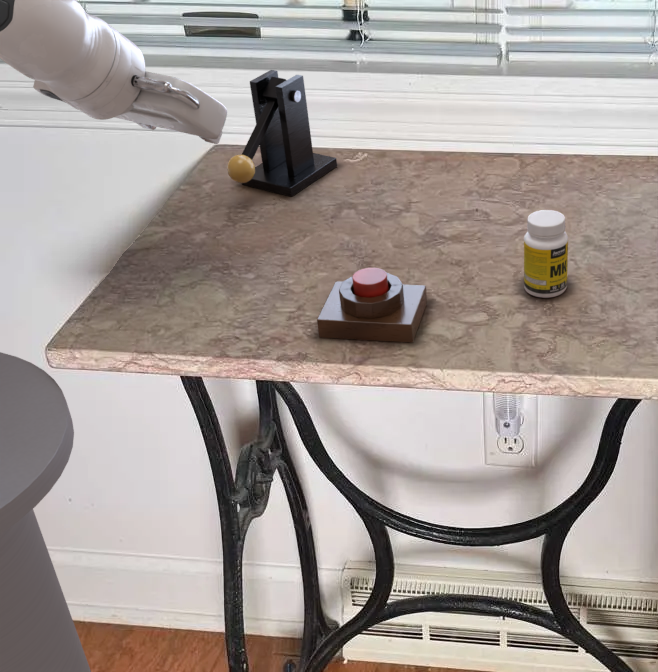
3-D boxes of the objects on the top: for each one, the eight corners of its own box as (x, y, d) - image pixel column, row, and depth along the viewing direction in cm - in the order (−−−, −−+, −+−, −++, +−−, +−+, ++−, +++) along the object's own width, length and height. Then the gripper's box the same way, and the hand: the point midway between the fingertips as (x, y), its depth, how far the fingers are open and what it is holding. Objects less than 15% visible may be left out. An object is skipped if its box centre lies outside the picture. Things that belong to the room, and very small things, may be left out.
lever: (253, 190, 146) (239, 175, 143) (231, 185, 148) (217, 170, 145) (300, 93, 149) (287, 76, 146) (278, 89, 150) (265, 72, 147)
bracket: (291, 196, 150) (277, 97, 141) (242, 184, 153) (225, 87, 145) (337, 166, 156) (326, 69, 148) (288, 155, 159) (275, 60, 151)
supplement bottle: (554, 303, 127) (554, 232, 122) (516, 292, 129) (515, 222, 124) (575, 283, 130) (576, 213, 125) (537, 273, 132) (537, 203, 127)
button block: (319, 337, 124) (314, 304, 121) (337, 298, 130) (333, 266, 127) (412, 342, 122) (410, 309, 120) (427, 303, 128) (425, 270, 126)
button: (350, 298, 123) (348, 283, 121) (358, 281, 125) (356, 266, 124) (384, 300, 122) (383, 285, 121) (391, 282, 125) (390, 268, 124)
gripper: (187, 57, 117) (265, 118, 129) (42, 30, 126) (127, 90, 138) (166, 117, 117) (245, 172, 129) (22, 86, 125) (109, 140, 138)
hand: (183, 129), depth 134 cm, fingers open, 8 cm apart
